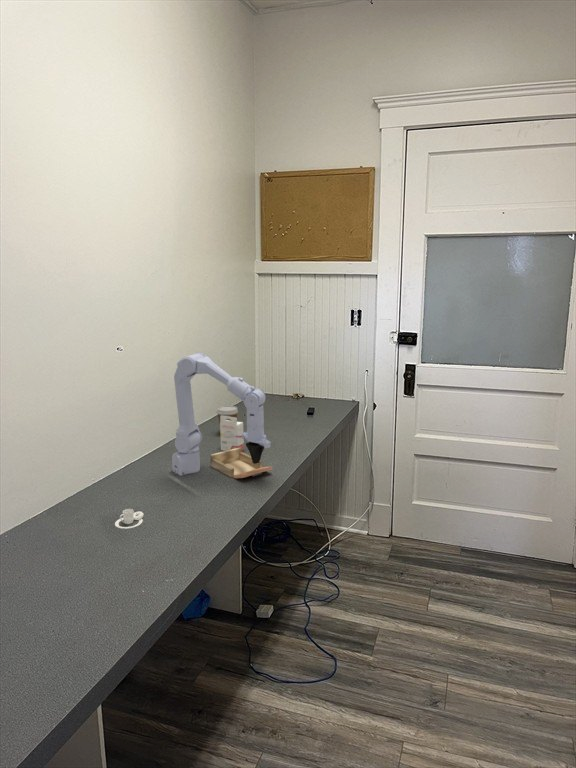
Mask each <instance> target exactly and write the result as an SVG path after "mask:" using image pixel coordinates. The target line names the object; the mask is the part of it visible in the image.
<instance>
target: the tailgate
mask: <svg viewBox="0 0 576 768" xmlns="http://www.w3.org/2000/svg"><path fill="white" fill-rule="evenodd" d="M271 470H273V466H262V468H258V469H255V470H251V471H248V472H244V473H241V474H237V475H234V477H233V479H243V478H248V477H250V476H251V477H255V476H259V475H262V474H263V473H264V472H267V471H271Z"/></svg>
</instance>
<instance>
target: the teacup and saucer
mask: <svg viewBox="0 0 576 768" xmlns="http://www.w3.org/2000/svg"><path fill="white" fill-rule="evenodd" d="M144 515H145V514H144V512H143V511H136V512H135V511H134V509H133V508H126V509H124V510H122V514H120V515H119V519H117V520H116V521H115V522H114V526H115V527H116V528H118V529H123V530H125V529H132V528H135V527H138V526H140V525H142V523H143V522H144V520H143V518H144ZM134 521H138V523H137V524H134V525H131V524H132V523H134ZM120 522H122V523H124V524H125V525H130V526H121V525H120Z"/></svg>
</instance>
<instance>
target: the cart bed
mask: <svg viewBox="0 0 576 768" xmlns="http://www.w3.org/2000/svg"><path fill="white" fill-rule="evenodd" d="M209 458H210V467H211V468H213V469H215V470H217V471H218V472H219V473H220V472H221V473H222V474H224V475H226V476H228V477H230V478H234V475H237V474H241V473H244V472H248V471H251V470H255V469H258V468H262V467H263V466H262V462H263V461H262V460H261V459H260V463H256V464H254V463H253V462H252V458H251V455H250V454H248V453H245V452H243V450H242V448H240V447H239V448H235V449H231V450H227V451H223V450H222V451H220V452H215V453H211V454H210V457H209Z"/></svg>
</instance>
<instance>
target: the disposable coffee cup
mask: <svg viewBox="0 0 576 768" xmlns="http://www.w3.org/2000/svg"><path fill="white" fill-rule="evenodd" d="M238 409H239V408H238V406H234V405H222V406H218V407H217V409H216V413H217V417H218V418H217V419H218V424H219V425H220V416H221V415H222V416H229V417H236V418H237V419H238V413H239V410H238ZM226 420H229V421H231V420H230V419H226Z"/></svg>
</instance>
